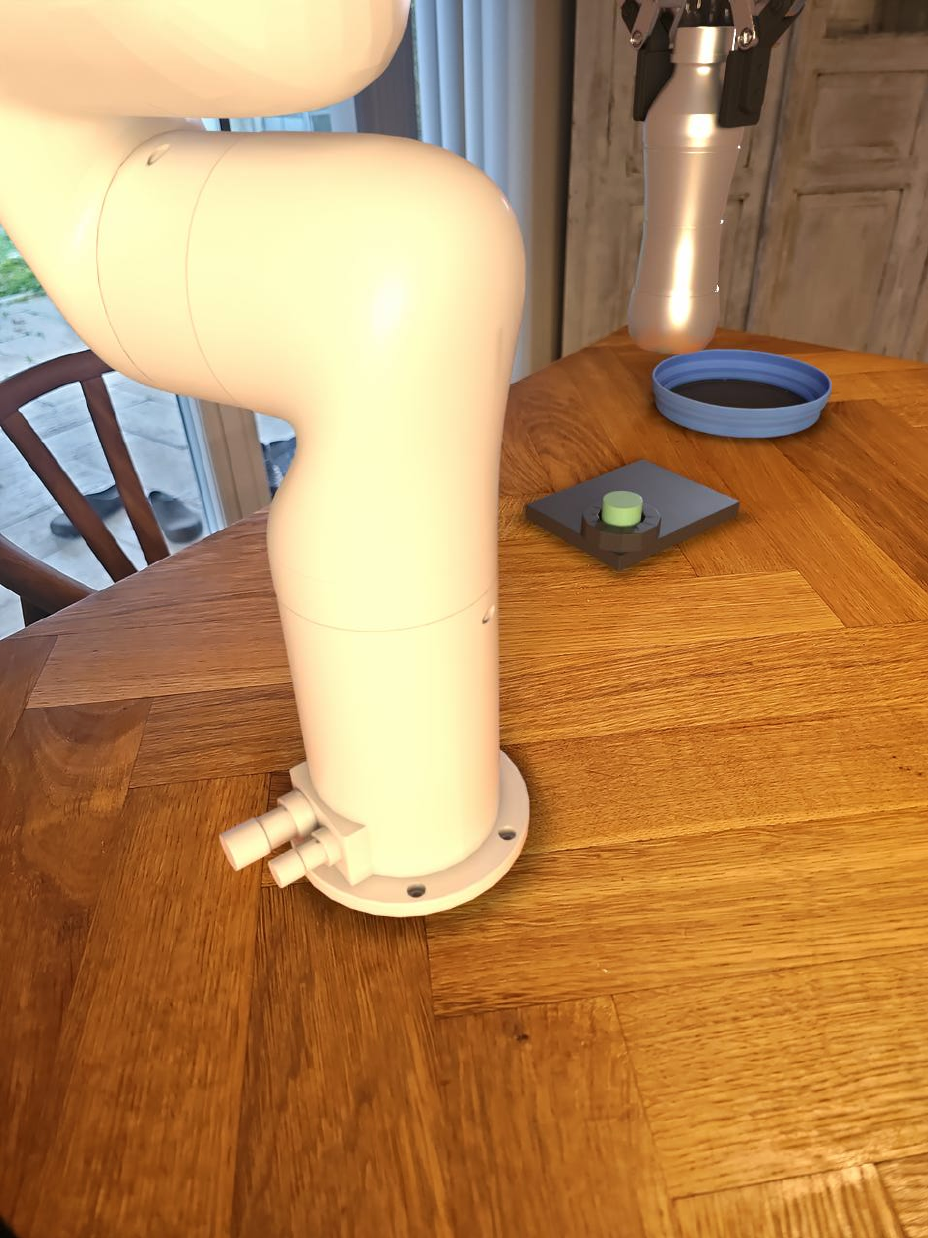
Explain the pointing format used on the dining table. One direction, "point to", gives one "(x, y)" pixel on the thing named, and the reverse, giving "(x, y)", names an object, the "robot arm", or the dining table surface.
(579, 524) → the scale
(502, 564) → the dining table surface
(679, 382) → the bowl
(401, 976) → the dining table surface
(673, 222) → the silver metal bottle
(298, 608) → the robot arm
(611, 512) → the button
